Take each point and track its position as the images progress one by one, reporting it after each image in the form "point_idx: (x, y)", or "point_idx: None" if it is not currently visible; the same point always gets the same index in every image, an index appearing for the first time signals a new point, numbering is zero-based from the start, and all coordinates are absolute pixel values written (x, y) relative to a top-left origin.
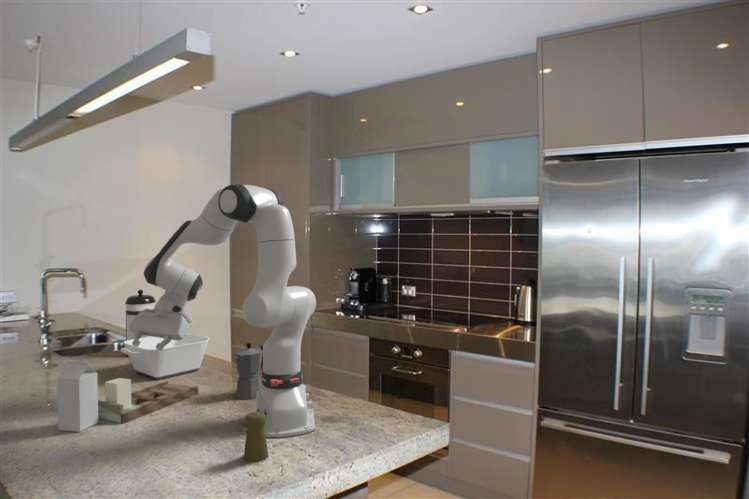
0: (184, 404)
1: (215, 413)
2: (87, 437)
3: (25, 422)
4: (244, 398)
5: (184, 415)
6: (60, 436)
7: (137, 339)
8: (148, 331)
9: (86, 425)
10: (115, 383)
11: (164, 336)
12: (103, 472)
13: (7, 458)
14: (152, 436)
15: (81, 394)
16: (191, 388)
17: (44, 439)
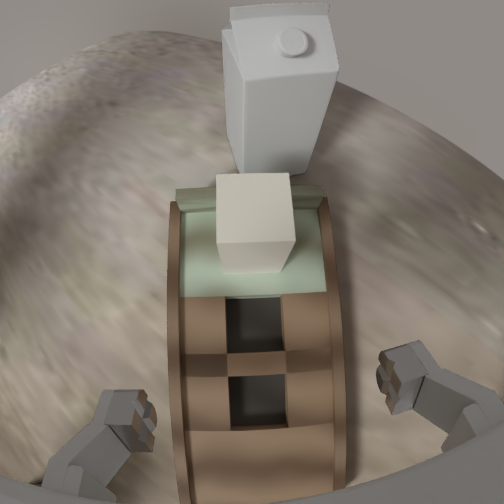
0: None
1: (19, 371)
2: (183, 128)
3: (399, 134)
4: (36, 484)
5: (69, 331)
6: None
7: (427, 397)
8: (336, 492)
9: (231, 146)
10: (227, 176)
11: (79, 484)
12: (56, 90)
13: None
14: (56, 195)
15: (224, 73)
16: (183, 492)
17: None
